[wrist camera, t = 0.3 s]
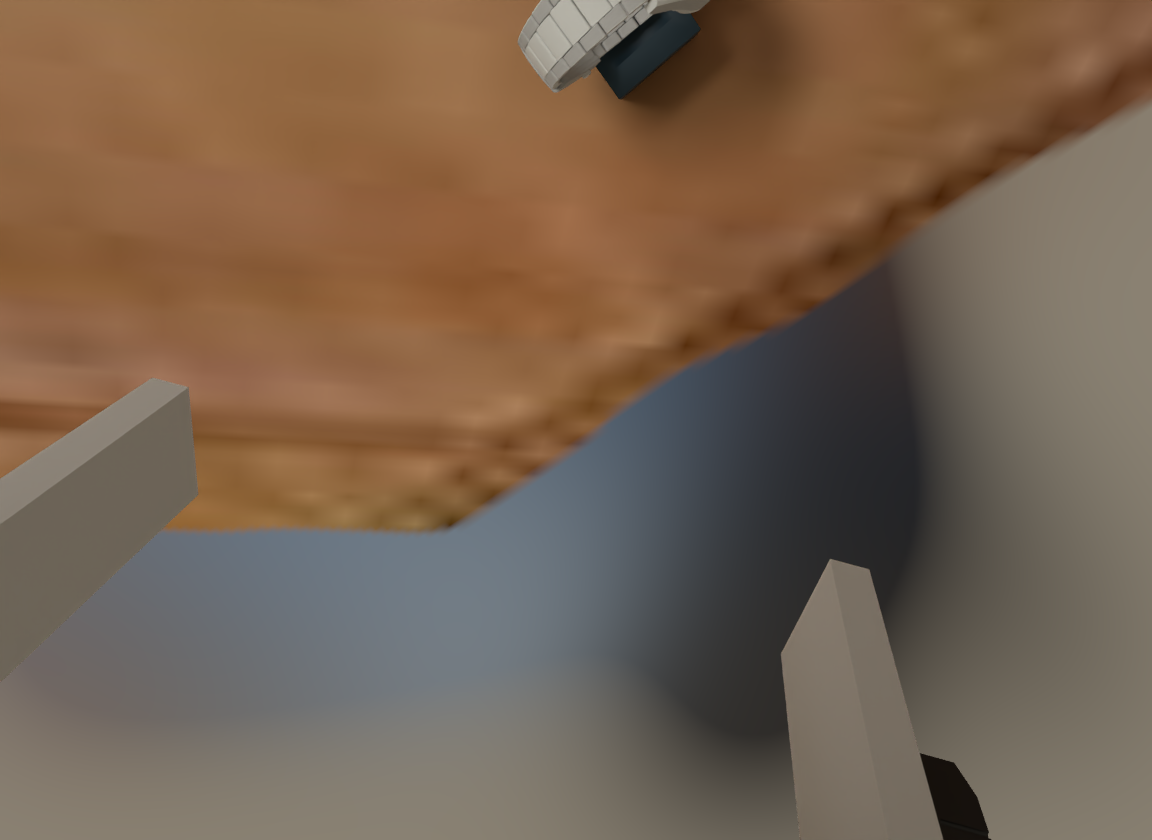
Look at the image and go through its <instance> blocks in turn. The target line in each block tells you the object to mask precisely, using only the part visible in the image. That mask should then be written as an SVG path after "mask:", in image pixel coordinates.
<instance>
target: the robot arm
mask: <svg viewBox="0 0 1152 840" xmlns="http://www.w3.org/2000/svg"><path fill="white" fill-rule="evenodd" d="M197 495H198V487H197V476H196V465H195V453H194V442H193V431H192V420H191V409H190V398H189V387H185V386H182V385H178V384H174V383H171V382H167V381H163V380H159V379H156V378H151V379H150V380H148V381H147V382H145V383H144V384H142V385H141V386H139V387H138V388H136V389H135V390H133V391H132V392H130V393H129V394H127V395H126V396H124V397H123V398H121V399H120V400H118V401H117V402H115V403H114V404H112V405H111V406H109V407H108V408H106V409H105V410H103V411H102V412H100V413H99V414H97V415H96V416H94V417H93V418H91V419H90V420H88V421H86V422H85V423H83V424H82V425H80V426H79V427H77V428H76V429H74V430H73V431H71V432H70V433H68V434H67V435H65V436H64V437H62V438H61V439H59V440H58V441H56V442H55V443H53V444H52V445H50V446H49V447H47V448H46V449H44V450H43V451H41V452H40V453H38V454H37V455H35V456H34V457H32V458H31V459H29V460H28V461H26V462H25V463H23V464H22V465H20V466H19V467H17V468H16V469H14V470H13V471H11V472H10V473H8V474H7V475H5V476H4V477H2V478H1V479H0V682H1V681H2V680H3V679H5V678H6V676H8V675H9V674H10V673H11V672H12V671H13V670H14V669H15V668H16V667H17V666H18V665H19V664H20V663H21V662H22V661H23V660H24V659H25V658H27V657H28V656H29V655H30V654H31V653H32V652H33V651H34V650H35V649H36V648H37V647H38V646H39V645H40V644H41V643H42V642H43V641H44V640H46V639H47V638H48V637H49V636H50V635H51V634H52V633H53V632H54V631H55V630H56V629H57V628H58V627H59V626H60V625H61V624H62V623H63V622H65V621H66V620H67V619H68V618H69V617H70V616H71V615H72V614H73V613H74V612H75V611H76V610H77V609H78V608H79V607H80V606H81V605H82V604H83V603H85V602H86V601H87V600H88V599H89V598H90V597H91V596H92V595H93V594H94V593H95V592H96V591H97V590H98V589H99V588H100V587H101V586H102V585H103V584H105V583H106V582H107V581H108V580H109V579H110V578H111V577H112V576H113V575H114V574H115V573H116V572H117V571H118V570H119V569H120V568H121V567H122V566H123V565H125V564H126V563H127V562H128V561H129V560H130V559H131V558H132V557H133V556H134V555H135V554H136V553H137V552H138V551H139V550H140V549H141V548H143V546H145V545H146V544H147V543H148V542H149V541H150V540H151V539H152V538H153V537H154V536H155V535H156V534H157V533H158V532H159V531H160V530H161V529H163V528H164V527H165V526H166V525H167V524H168V523H169V522H170V521H171V520H172V519H173V518H174V517H175V516H176V515H177V514H178V513H179V512H180V511H181V510H183V509H184V508H185V507H186V506H187V505H188V504H189V503H190V502H191V501H192V500H193V499H194V498H195V497H196V496H197ZM781 658H782V668H783V678H784V688H785V697H786V706H787V717H788V726H789V736H790V745H791V756H792V764H793V775H794V785H795V795H796V804H797V814H798V824H799V833H800V840H991V839H989V838H988V833H989V831H988V828H987V826H986V823H985V820H984V816H983V813H982V810H981V807H980V804H979V801H978V798H977V796H976V795H975V793H974V792H973V790H972V789H971V787H970V786H969V784H968V783H967V781H966V780H965V778H964V777H963V775H962V774H961V773H960V771H959V769H958V768H957V766H956V765H955V764H954V763H953V762H950V761H946V760H943V759H939V758H935V757H932V756H928V755H924V754H921V753H919V750H918V746H917V742H916V739H915V735H914V731H913V728H912V724H911V720H910V717H909V713H908V709H907V706H906V702H905V699H904V695H903V691H902V687H901V684H900V680H899V677H898V673H897V669H896V666H895V662H894V658H893V655H892V651H891V648H890V644H889V640H888V637H887V633H886V629H885V625H884V622H883V618H882V615H881V611H880V607H879V604H878V600H877V596H876V593H875V589H874V585H873V582H872V578H871V575H870V571H869V569H866V568H862V567H858V566H854V565H851V564H847V563H843V562H840V561H836V560H832V559H830V560H829V563H828V564H827V566H826V568H825V570H824V572H823V574H822V576H821V578H820V580H819V582H818V584H817V585H816V588H815V590H814V591H813V593H812V595H811V597H810V599H809V601H808V603H807V605H806V607H805V609H804V611H803V613H802V615H801V617H800V618H799V620H798V622H797V624H796V626H795V628H794V630H793V632H792V634H791V636H790V638H789V640H788V641H787V643H786V645H785V647H784V649H783V651H782V653H781Z"/></svg>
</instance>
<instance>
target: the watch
mask: <svg viewBox="0 0 1152 840" xmlns="http://www.w3.org/2000/svg"><path fill="white" fill-rule="evenodd" d="M709 1H710V0H541V1H540V2H539V4H538V5H537V7H536V8H535V9H534V11H533V12H532V15H531V16H530V18H529V19H528V21H527V22H526V24H525V26H524V28H523V30H522V32H521V33H520V36H519V39H518V44H519V46H520V48H521V50H522V51H523V53H524V55H525V56H526V58H527V60H528V61H529V63H530V64H531V65H532V67H533V68H534V70H535V71H536V72H537V74H538V75H539V76H540V77H541V79H542V80H543V81H544V82H545V83H546V84H547V86H548V87H549V88H550V89H551V90H552V91H553V92H559V91H561V90H562V89H564V88H566V87H567V86H569V85H570V84H572V83H573V82H575V81H576V80H578V79H579V78H581V77H583V79H584V78H586V77H588V76H589V75H590V74H591V71H590V70H592V69H593V68H594V67H597V69H598V70H599V72H600V73H601V74H602V76H603V77H604V79H605V80H606V81H607V83H608V84H609V86H610V87H611V88H612V90H613V91H614V93H615V94H616V95H617V97H618V98H619V99H623V98H624V97H625V96H626V95H628V94H629V93H630V92H631V91H632V90H633V89H635V88H636V87H637V86H638V85H639V84H640V83H641V82H643V81H644V80H645V79H646V78H647V77H648V76H650V75H651V74H652V73H653V72H654V71H655V70H657V69H658V68H659V67H660V66H661V65H662V64H663V63H665V62H666V61H667V60H668V59H669V58H670V57H672V56H673V55H674V54H675V53H676V52H677V51H678V50H680V49H681V48H682V47H683V46H684V45H685V44H687V43H688V42H689V41H690V40H691V39H692V38H694V37H695V36H696V35H697V34H698V32H699V31H700V27H699V26H698V24H697V23H696V21H695V20H694V18H693V17H692V15H691V14H690V13H693V12H696V11H698V10H700V9H701V8H702V7H704V6H705V5H706V4H707V3H708V2H709Z"/></svg>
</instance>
